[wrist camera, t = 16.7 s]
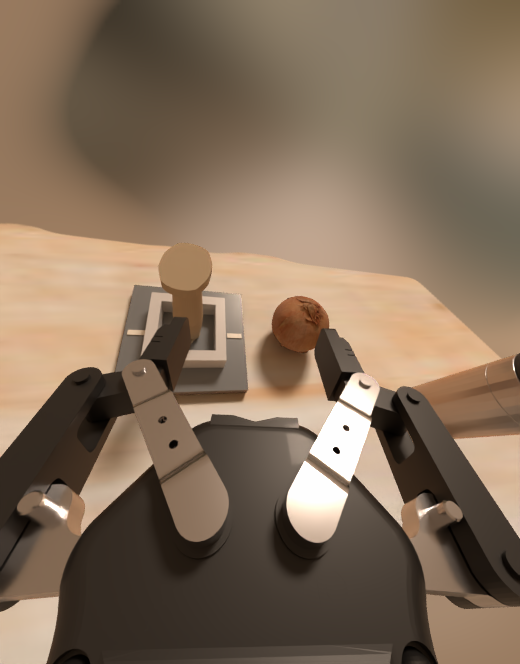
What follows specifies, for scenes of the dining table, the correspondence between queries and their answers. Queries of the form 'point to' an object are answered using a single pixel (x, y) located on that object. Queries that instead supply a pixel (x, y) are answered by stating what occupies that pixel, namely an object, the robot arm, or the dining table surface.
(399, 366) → the dining table surface
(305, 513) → the robot arm
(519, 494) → the dining table surface
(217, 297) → the square socket base
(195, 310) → the handle
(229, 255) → the dining table surface
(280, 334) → the onion
